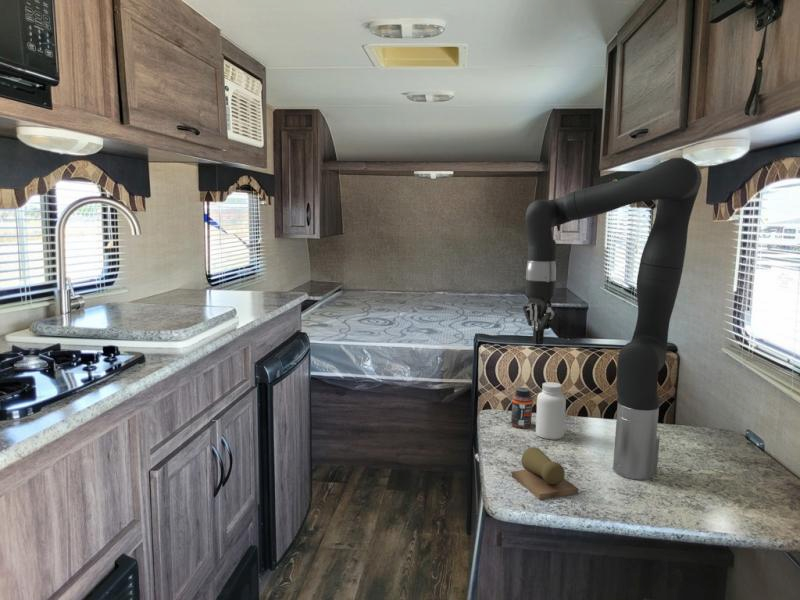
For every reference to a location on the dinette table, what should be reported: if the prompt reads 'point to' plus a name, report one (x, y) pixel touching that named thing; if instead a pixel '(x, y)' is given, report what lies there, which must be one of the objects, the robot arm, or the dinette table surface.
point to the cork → (542, 466)
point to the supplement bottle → (521, 408)
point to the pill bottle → (550, 411)
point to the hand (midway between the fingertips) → (537, 343)
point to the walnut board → (543, 485)
